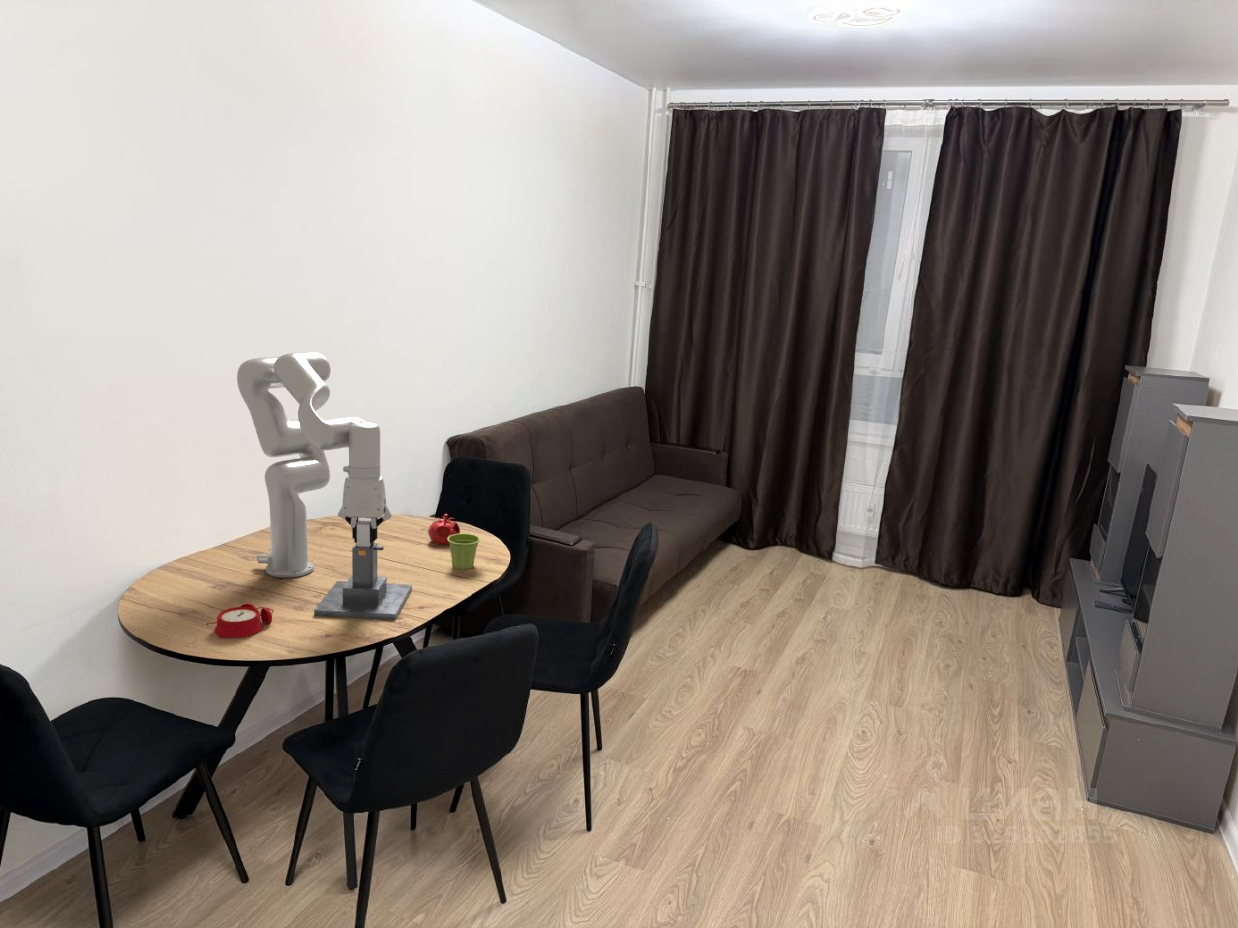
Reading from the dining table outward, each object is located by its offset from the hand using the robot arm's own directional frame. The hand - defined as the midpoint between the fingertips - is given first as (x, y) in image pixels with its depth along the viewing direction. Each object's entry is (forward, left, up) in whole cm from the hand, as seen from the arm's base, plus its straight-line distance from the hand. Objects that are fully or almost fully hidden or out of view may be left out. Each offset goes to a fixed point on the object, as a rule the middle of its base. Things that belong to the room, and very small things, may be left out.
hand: (364, 541), depth 219 cm
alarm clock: (-24, -18, -17) cm, 34 cm away
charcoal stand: (0, 0, -17) cm, 17 cm away
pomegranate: (+12, +51, -17) cm, 55 cm away
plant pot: (+21, +30, -17) cm, 40 cm away
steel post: (0, 0, -11) cm, 11 cm away
